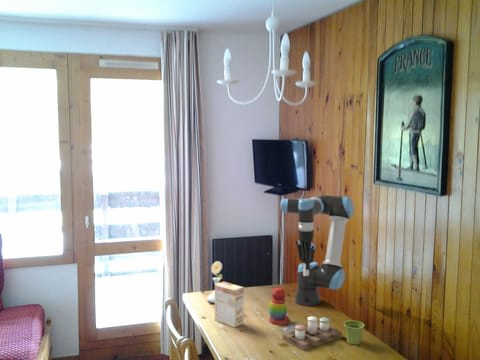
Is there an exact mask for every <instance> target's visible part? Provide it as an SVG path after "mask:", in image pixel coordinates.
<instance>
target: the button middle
mask: <svg viewBox="0 0 480 360" xmlns="http://www.w3.org/2000/svg"><path fill="white" fill-rule="evenodd" d="M318 319H319V318H318V317H317V316H308V317H307V327H308V333H310V334H312V335H313V334H316V333H317V323H318Z"/></svg>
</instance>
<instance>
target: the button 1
mask: <svg viewBox="0 0 480 360" xmlns="http://www.w3.org/2000/svg"><path fill="white" fill-rule="evenodd" d="M304 325H305V324H303V325H296V326H295V339H297V340H299V341H301V340H304V339H305V326H306V325H305V326H304Z"/></svg>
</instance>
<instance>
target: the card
mask: <svg viewBox="0 0 480 360" xmlns="http://www.w3.org/2000/svg"><path fill="white" fill-rule="evenodd" d="M296 325H304V326H305V327H308V325H305V324H303V323H301V322H297V323H293V324H290V325H285V326H282V327H280V328H278V331H280V332H282V333H283V334H285V333H289V332H292V331H295V326H296Z"/></svg>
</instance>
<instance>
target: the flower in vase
mask: <svg viewBox="0 0 480 360" xmlns="http://www.w3.org/2000/svg"><path fill="white" fill-rule="evenodd" d="M210 267H211V268H210V269H211V271H210V272H211V273H212V274H213V275H214V276H216V277H212V281H213V283H214V285H215V284H217V283H220V281H221V280H222V279H223V278H224V277H223V274H222V273H221V274H220V272H221V270H222V269H223V263H221V262H220V260H218V261H217V260H216V261H214V263H212V265H211V266H210ZM206 298H207V299H206V300H207V301H208V302H210V303H212V304H215V289H214V290H213V291H212V293H210V294H209V295H208V296H207V297H206Z"/></svg>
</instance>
